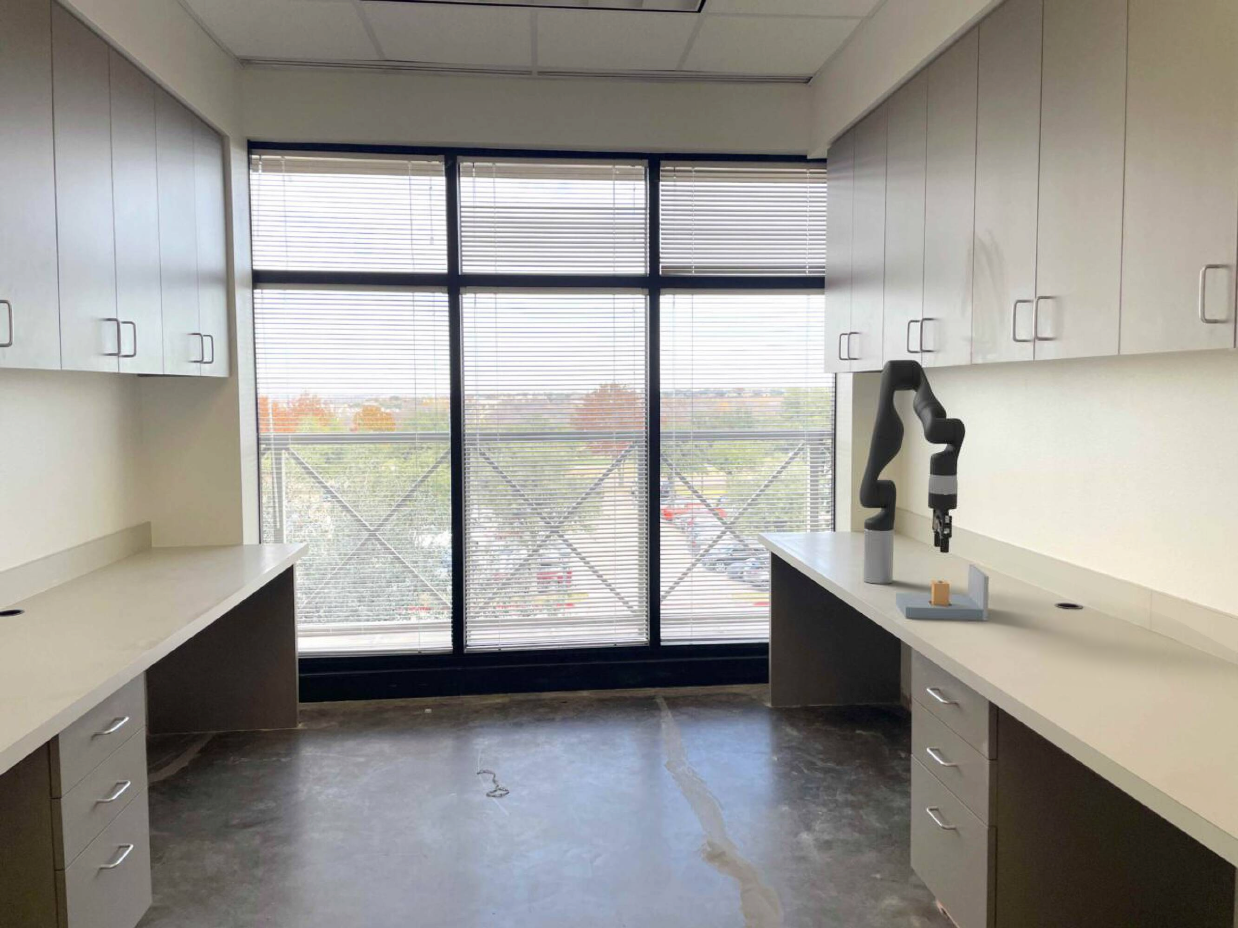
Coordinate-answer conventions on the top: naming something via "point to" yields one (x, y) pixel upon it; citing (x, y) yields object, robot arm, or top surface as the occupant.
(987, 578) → the grey slotted stand
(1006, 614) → the top surface
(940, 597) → the block
